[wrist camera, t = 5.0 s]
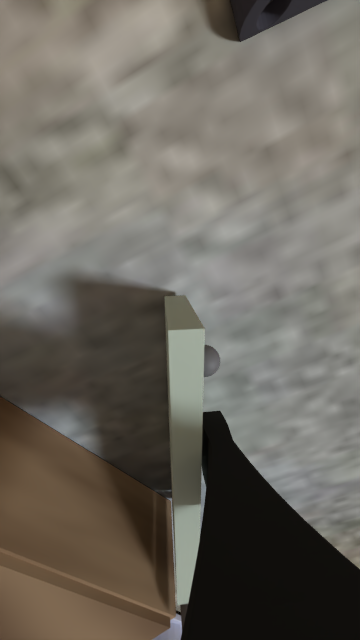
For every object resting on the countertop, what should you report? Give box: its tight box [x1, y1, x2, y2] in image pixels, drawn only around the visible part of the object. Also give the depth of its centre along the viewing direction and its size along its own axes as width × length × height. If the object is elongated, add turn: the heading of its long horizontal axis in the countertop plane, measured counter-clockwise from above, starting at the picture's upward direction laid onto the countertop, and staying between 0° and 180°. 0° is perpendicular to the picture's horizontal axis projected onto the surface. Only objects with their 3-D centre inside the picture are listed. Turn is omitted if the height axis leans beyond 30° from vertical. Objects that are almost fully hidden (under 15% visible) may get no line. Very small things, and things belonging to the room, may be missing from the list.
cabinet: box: [0, 397, 188, 640], centre depth 11 cm, size 10×15×6 cm, turn 43°
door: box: [164, 295, 220, 605], centre depth 10 cm, size 14×2×5 cm, turn 1°
